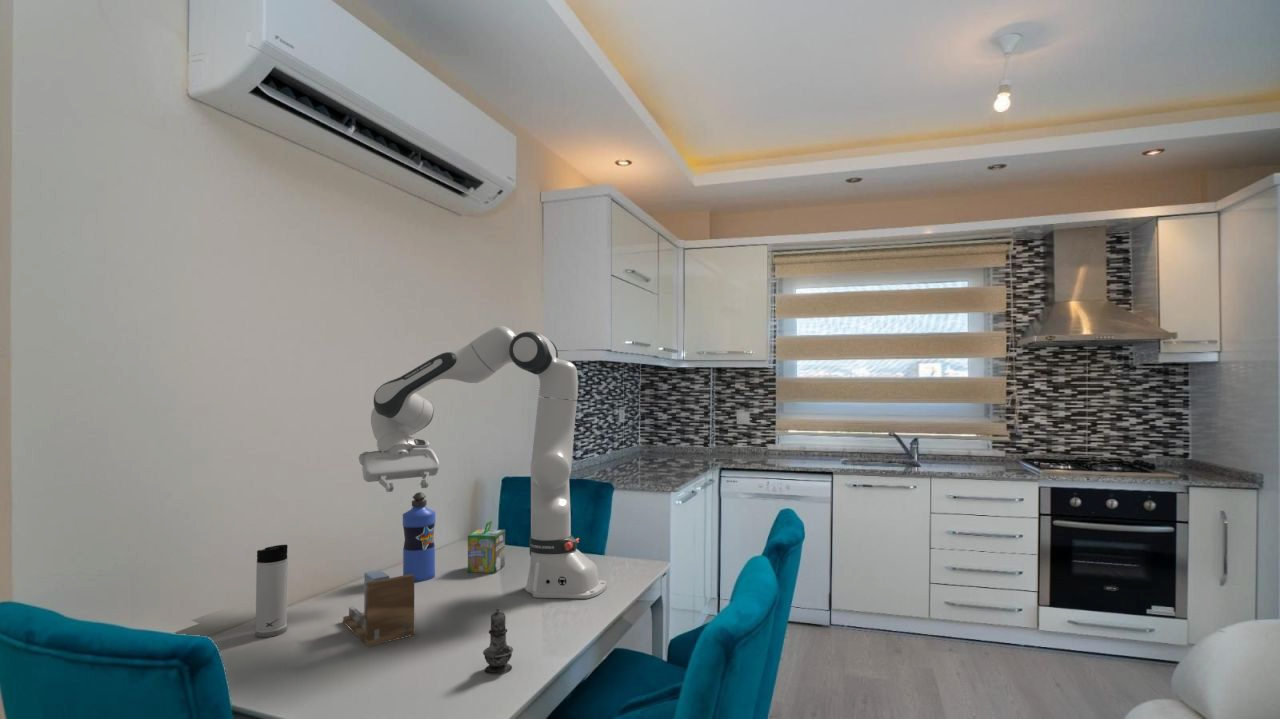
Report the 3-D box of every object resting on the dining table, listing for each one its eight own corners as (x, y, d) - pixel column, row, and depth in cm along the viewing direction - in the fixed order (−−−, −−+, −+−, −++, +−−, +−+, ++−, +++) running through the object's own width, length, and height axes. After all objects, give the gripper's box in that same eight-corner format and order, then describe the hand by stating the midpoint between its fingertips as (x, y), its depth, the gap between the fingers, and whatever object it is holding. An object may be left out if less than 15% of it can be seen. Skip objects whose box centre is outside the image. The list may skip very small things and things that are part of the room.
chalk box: (478, 565, 204) (477, 518, 205) (505, 565, 203) (505, 518, 204) (466, 573, 195) (466, 524, 196) (495, 574, 194) (495, 524, 195)
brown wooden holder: (343, 621, 155) (343, 566, 155) (385, 612, 161) (385, 559, 162) (368, 646, 139) (368, 584, 140) (414, 634, 146) (414, 575, 146)
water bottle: (442, 575, 193) (442, 491, 194) (416, 583, 185) (416, 496, 186) (421, 571, 198) (421, 489, 199) (395, 579, 190) (396, 494, 191)
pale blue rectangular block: (364, 619, 153) (364, 572, 153) (379, 616, 155) (379, 569, 155) (373, 627, 147) (373, 578, 148) (389, 623, 150) (389, 575, 150)
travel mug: (274, 638, 145) (275, 548, 146) (248, 637, 146) (250, 548, 147) (294, 628, 151) (295, 542, 152) (269, 627, 152) (271, 541, 153)
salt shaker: (485, 663, 130) (485, 603, 130) (515, 662, 130) (514, 601, 131) (480, 676, 124) (480, 613, 124) (511, 674, 124) (511, 611, 125)
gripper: (359, 445, 173) (370, 485, 165) (433, 440, 186) (447, 477, 178) (354, 460, 177) (365, 500, 169) (427, 454, 189) (441, 491, 181)
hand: (408, 488), depth 173 cm, fingers open, 8 cm apart
